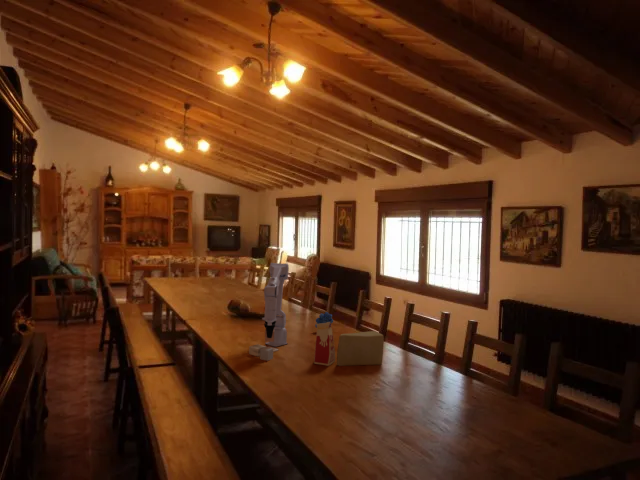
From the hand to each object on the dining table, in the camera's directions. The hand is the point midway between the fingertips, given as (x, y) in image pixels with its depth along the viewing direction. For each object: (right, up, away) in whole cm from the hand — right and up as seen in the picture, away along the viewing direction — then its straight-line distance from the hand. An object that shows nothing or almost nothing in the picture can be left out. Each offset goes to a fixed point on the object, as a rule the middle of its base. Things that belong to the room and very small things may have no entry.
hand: (269, 336), depth 242 cm
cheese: (+44, -12, -8) cm, 46 cm away
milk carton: (+27, -11, -8) cm, 30 cm away
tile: (-1, -9, +9) cm, 13 cm away
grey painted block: (-1, -10, -6) cm, 11 cm away
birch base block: (-6, -9, +2) cm, 11 cm away
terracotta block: (0, -2, 0) cm, 2 cm away
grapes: (+27, -8, +55) cm, 62 cm away
